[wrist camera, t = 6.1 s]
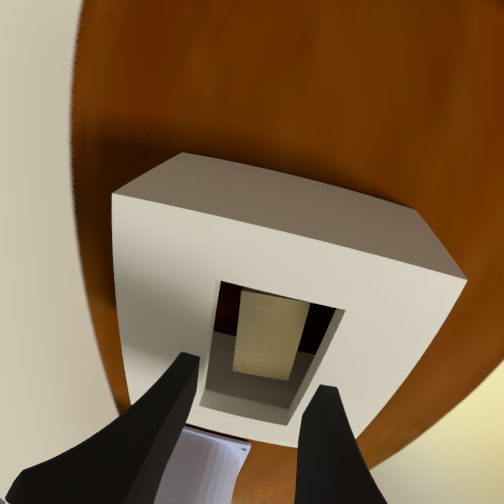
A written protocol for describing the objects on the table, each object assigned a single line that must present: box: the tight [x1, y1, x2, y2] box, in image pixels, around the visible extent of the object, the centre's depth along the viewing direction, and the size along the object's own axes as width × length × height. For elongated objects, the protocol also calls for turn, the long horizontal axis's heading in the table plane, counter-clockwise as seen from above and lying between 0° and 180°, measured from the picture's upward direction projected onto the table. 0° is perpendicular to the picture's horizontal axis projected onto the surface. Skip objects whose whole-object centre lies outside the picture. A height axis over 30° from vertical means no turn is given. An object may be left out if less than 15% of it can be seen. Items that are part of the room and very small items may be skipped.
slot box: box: [112, 152, 467, 448], centre depth 14 cm, size 11×11×6 cm
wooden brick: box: [233, 286, 311, 381], centre depth 14 cm, size 4×2×4 cm, turn 174°
